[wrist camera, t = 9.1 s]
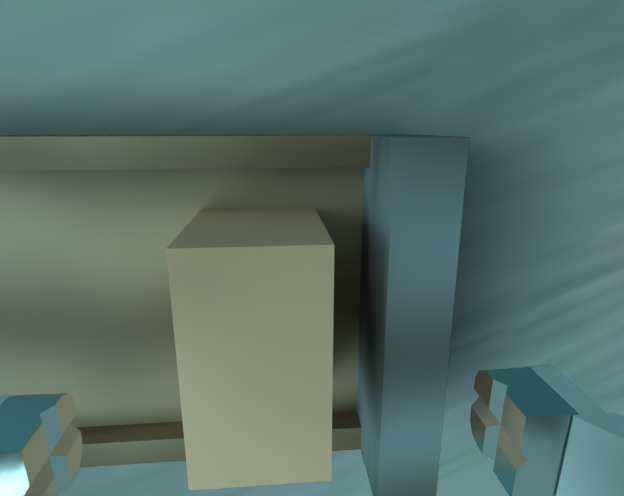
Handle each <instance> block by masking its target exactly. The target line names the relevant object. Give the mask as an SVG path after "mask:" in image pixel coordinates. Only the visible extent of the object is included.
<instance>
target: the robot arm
mask: <svg viewBox="0 0 624 496" xmlns="http://www.w3.org/2000/svg"><path fill="white" fill-rule="evenodd" d="M474 389H475V390H476V392H477V393H478V395H479V396H480V397H479V398H478V399H477V400H476V402H475V403H474V404H473V405H472V407H471V417H470V421H471V428H472V434H473V436H474V439H475V441H476V444H477V446H478V447H479V449H480V451H481V452H482V454H484V455H486V456H487V457H489V458H490V459H492V460H494V461H495V463H494V470H493V471H494V473H495V474H496V476H497V477H498V479H499V480H500V482H501V484H502V485H503V486H504V488H505V490H506V491H507V493H508V494H509V496H624V416H622V415H619V414H617V413H615V412H614V413H606V412H605V411H604V410H603V409H602V408H601V407H600V406H598V405H597V404H596V403H595V402H594V401H593V400H592V399H590V398H589V397H588V396H587V395H586V394H585V393H584V392H582V391H581V390H580V389H579V388H578V387H577V386H576V385H574V384H573V383H572V382H571V381H570V380H569V379H568V378H566V377H565V376H564V375H563V374H562V373H561V372H559V371H558V370H557V369H556V368H555V367H552V366H549V365H540V366H529V367H523V368H509V369H495V370H482V371H479V372H478V374H477V376H476V378H475V384H474ZM76 413H77V410H76V406H75V402H74V397H72V396H71V395H70V394H68V393H59V394H31V395H14V396H12V395H5V396H0V496H59V494H60V493H61V492H63V491H64V490H65V489H67V488H68V487H69V486H71V485H72V483H73V481H74V479H75V477H76V475H77V473H78V471H79V466H80V462H81V458H82V437H81V431H80V430H78V429H77V428H76V427H75V426H74V425H73V424H72V423H71V421H72V419H73V417H74V416H75V414H76Z"/></svg>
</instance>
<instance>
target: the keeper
mask: <svg viewBox="0 0 624 496" xmlns="http://www.w3.org/2000/svg"><path fill="white" fill-rule="evenodd" d="M166 253H167V263H168V274H169V285H170V295H171V306H172V316H173V327H174V337H175V348H176V358H177V369H178V380H179V390H180V401H181V411H182V422H183V432H184V443H185V454H186V464H187V475H188V485H189V490H203V489H218V488H232V487H246V486H260V485H275V484H289V483H303V482H317V481H331V468H332V392H333V316H334V243H333V241H332V239H331V237H330V235H329V234H328V232H327V230H326V228H325V226H324V224H323V222H322V220H321V219H320V217H319V215H318V213H317V211H316V209H315V208H302V209H242V210H200V211H199V212H198V213H197V214H196V216H195V217H194V218H193V219H192V220H191V221H190V222H189V223H188V225H187V226H186V227H185V228H184V229H183V230H182V231H181V232H180V234H179V235H178V236H177V237H176V238H175V239H174V240H173V241H172V243H171V244H170V245H169V246H168V247H167V248H166Z"/></svg>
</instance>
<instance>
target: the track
mask: <svg viewBox="0 0 624 496" xmlns="http://www.w3.org/2000/svg"><path fill="white" fill-rule="evenodd" d="M468 148H469V137H453V136H430V135H70V136H0V396H5V395H12V396H14V395H31V394H59V393H68V394H70V395H71V396H72V397H74V402H75V406H76V410H77V413H76V414H75V416H74V417H73V419H72V421H71V423H72V424H73V425H74V426H75V427H76V428H77V429H78V430H80V431H81V437H82V458H81V462H80V466H79V467H92V466H108V465H123V464H139V463H154V462H170V461H185V460H186V454H185V443H184V432H183V422H182V411H181V401H180V390H179V380H178V369H177V358H176V348H175V337H174V327H173V316H172V306H171V295H170V285H169V274H168V263H167V253H166V248H167V247H168V246H169V245H170V244H171V243H172V241H173V240H174V239H175V238H176V237H177V236H178V235H179V234H180V232H181V231H182V230H183V229H184V228H185V227H186V226H187V225H188V223H189V222H190V221H191V220H192V219H193V218H194V217H195V216H196V214H197V213H198V212H199V211H200V210H242V209H302V208H315V209H316V211H317V213H318V215H319V217H320V219H321V220H322V222H323V224H324V226H325V228H326V230H327V232H328V234H329V235H330V237H331V239H332V241H333V243H334V316H333V392H332V451H340V450H356V449H361V453H362V456H363V460H364V464H365V467H366V471H367V475H368V478H369V482H370V486H371V489H372V493H373V496H436V492H437V491H436V490H437V481H438V470H439V459H440V449H441V438H442V427H443V416H444V406H445V395H446V384H447V373H448V363H449V352H450V341H451V330H452V320H453V309H454V298H455V287H456V277H457V266H458V255H459V244H460V234H461V223H462V212H463V201H464V191H465V180H466V169H467V158H468Z"/></svg>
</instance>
